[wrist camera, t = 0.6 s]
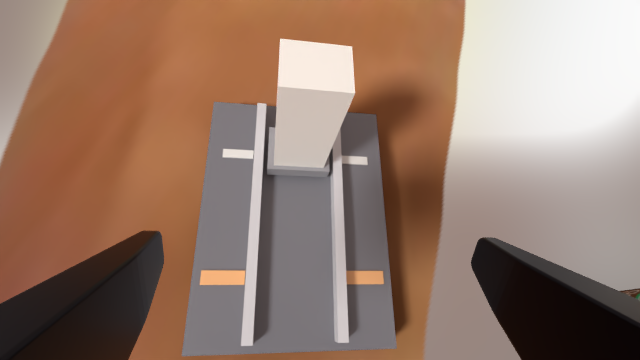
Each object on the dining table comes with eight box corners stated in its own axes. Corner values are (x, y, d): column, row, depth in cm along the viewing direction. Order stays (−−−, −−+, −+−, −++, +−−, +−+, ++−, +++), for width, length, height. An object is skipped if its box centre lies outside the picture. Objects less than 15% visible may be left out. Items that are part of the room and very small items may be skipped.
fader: (326, 177, 22) (364, 99, 13) (267, 174, 21) (267, 90, 13) (326, 138, 23) (360, 43, 14) (269, 134, 22) (271, 33, 14)
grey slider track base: (385, 344, 21) (403, 350, 18) (190, 350, 19) (176, 359, 16) (368, 127, 26) (380, 107, 24) (217, 116, 25) (211, 93, 22)
